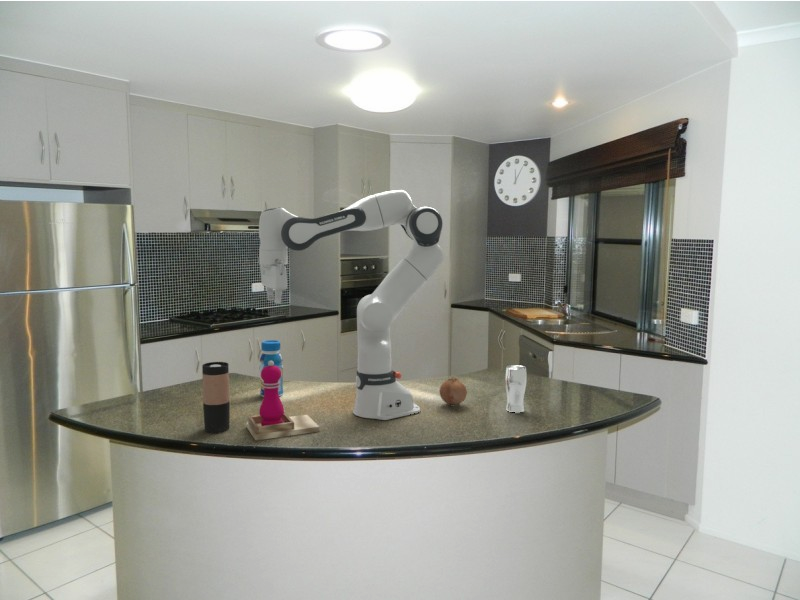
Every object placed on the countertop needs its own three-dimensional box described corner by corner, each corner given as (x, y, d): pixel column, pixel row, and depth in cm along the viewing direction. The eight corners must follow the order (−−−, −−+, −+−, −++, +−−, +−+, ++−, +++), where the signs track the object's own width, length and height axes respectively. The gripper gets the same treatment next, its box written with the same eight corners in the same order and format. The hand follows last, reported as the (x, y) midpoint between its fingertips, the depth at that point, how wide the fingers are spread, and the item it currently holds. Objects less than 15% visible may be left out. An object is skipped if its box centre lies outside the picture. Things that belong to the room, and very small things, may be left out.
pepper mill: (278, 430, 171) (277, 363, 168) (255, 428, 172) (254, 362, 170) (288, 423, 178) (287, 358, 175) (266, 421, 179) (264, 357, 177)
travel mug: (199, 429, 176) (197, 364, 174) (222, 423, 181) (221, 360, 179) (211, 435, 171) (209, 368, 169) (235, 429, 176) (233, 364, 174)
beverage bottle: (272, 399, 208) (271, 344, 206) (255, 396, 212) (253, 342, 210) (288, 394, 216) (287, 340, 213) (271, 391, 220) (270, 338, 218)
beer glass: (508, 406, 202) (510, 364, 200) (528, 409, 198) (529, 366, 196) (501, 411, 196) (502, 368, 194) (521, 415, 192) (522, 370, 190)
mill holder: (306, 419, 186) (306, 408, 186) (319, 431, 175) (319, 420, 174) (246, 427, 178) (246, 416, 178) (255, 440, 167) (255, 428, 166)
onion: (443, 400, 208) (443, 373, 207) (469, 403, 205) (469, 375, 204) (436, 407, 200) (436, 379, 198) (462, 410, 196) (463, 381, 195)
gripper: (292, 260, 178) (292, 305, 180) (275, 257, 196) (276, 298, 198) (271, 260, 175) (272, 305, 177) (257, 257, 194) (257, 299, 195)
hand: (274, 302), depth 188 cm, fingers open, 8 cm apart
